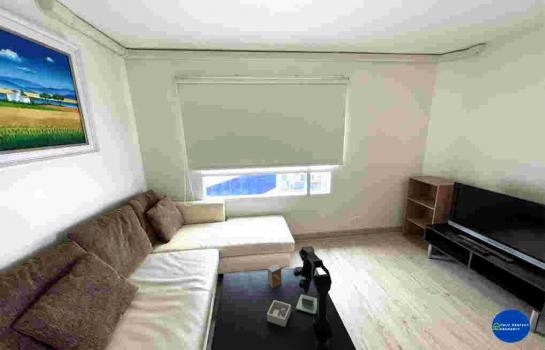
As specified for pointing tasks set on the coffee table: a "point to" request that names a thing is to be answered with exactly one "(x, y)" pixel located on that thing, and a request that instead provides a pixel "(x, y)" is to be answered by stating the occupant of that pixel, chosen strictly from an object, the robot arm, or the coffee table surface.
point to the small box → (274, 275)
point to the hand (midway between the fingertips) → (307, 288)
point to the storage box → (279, 313)
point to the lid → (307, 304)
